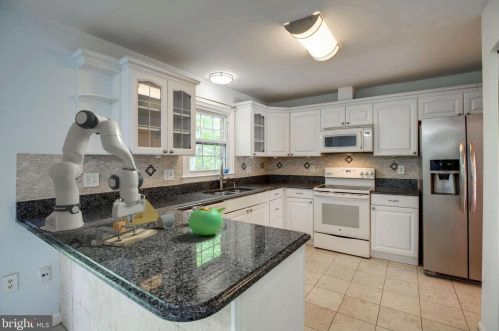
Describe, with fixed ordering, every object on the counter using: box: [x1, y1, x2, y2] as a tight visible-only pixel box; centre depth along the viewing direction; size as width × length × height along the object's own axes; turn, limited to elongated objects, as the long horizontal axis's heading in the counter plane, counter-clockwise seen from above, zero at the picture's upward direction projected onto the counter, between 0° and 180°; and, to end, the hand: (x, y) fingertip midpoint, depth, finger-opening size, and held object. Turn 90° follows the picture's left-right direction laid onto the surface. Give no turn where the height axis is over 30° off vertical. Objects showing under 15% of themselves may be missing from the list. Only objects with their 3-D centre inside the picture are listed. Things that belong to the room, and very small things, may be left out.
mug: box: [190, 205, 208, 215], centre depth 149 cm, size 11×8×10 cm
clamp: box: [123, 198, 160, 226], centre depth 156 cm, size 20×9×16 cm, turn 136°
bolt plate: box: [103, 228, 158, 248], centre depth 122 cm, size 12×22×2 cm, turn 163°
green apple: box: [188, 206, 227, 236], centre depth 128 cm, size 18×17×15 cm
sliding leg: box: [112, 220, 137, 233], centre depth 124 cm, size 12×4×5 cm, turn 73°
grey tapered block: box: [90, 226, 139, 247], centre depth 123 cm, size 12×26×7 cm, turn 163°
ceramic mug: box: [156, 212, 176, 231], centre depth 141 cm, size 11×8×8 cm
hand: (129, 222), depth 132 cm, fingers closed
